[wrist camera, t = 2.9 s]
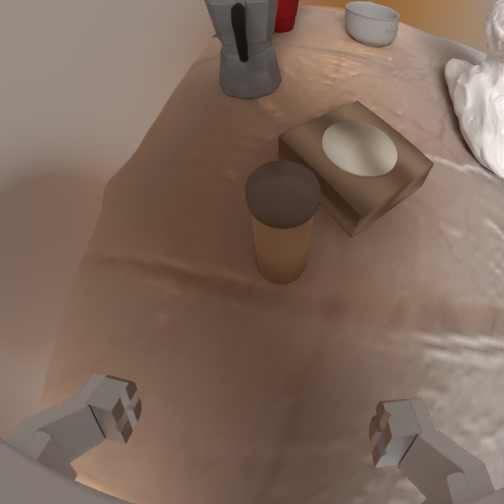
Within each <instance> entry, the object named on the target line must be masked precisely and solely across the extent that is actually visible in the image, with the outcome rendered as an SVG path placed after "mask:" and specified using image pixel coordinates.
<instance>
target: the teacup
mask: <svg viewBox="0 0 504 504" xmlns="http://www.w3.org/2000/svg"><path fill="white" fill-rule="evenodd" d="M345 8H346V29H347V31H348V33H349V34H350V35H351V36H352V37H353V38H354V39H355V40H356V41H358V42H360V43H362V44H365V45H368V46H373V47H382V46H385V45H387V44H390V43H392V42H393V41H394V40H395V38H396V35H397V30H398V24H399V19H400V15H399V14H398V13H397V12H396V11H394V10H392V9H390V8H388V7H385V6H382V5H379V4H374V3H373V2H372V1H367V2H349V3H347V4H346V5H345Z"/></svg>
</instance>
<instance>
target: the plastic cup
mask: <svg viewBox="0 0 504 504" xmlns="http://www.w3.org/2000/svg"><path fill="white" fill-rule="evenodd" d="M298 2H299V0H278V6H277V13H276V21H275V28H274V32H288V31H290V30H292V29H293V26H294V21H295V16H296V13H297V8H298Z"/></svg>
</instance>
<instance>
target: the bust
mask: <svg viewBox="0 0 504 504" xmlns="http://www.w3.org/2000/svg"><path fill="white" fill-rule="evenodd" d="M485 21H486V22H485V26H484V32H485V35H486V38H487V48H488V49H489V53H488V55H487V57H486V59H485V60H484V61H483V62H482V63H481V64H479V65H476V66H475V65H473V64H471V63H469V62H468V61H465V60H460V59H451V60H449V61H448V62H447V64H446V66H445V78H446V83H447V85H448V87H449V94H450V97H451V100H452V102H453V106H454V111H455V114H456V116H457V118H458V119H459V124H460V130H461V133H462V135H463V137H464V139H465V141H466V142H467V144H468V146H469V147H470V149H471V151H472V153H473V154H474V156H475V158H476V159H477V160H478V161H479V163H480V164H482V165H483V166H484V167H486V168H488V169H489V170H490V171H492V172H494V173H495V174H496V175H498V176H499V177H500V178H504V0H499V1H497V2H495V3H494V4H493V6H492V8H491V10H490V12H489V14H488V15H487V16H486V18H485Z"/></svg>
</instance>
